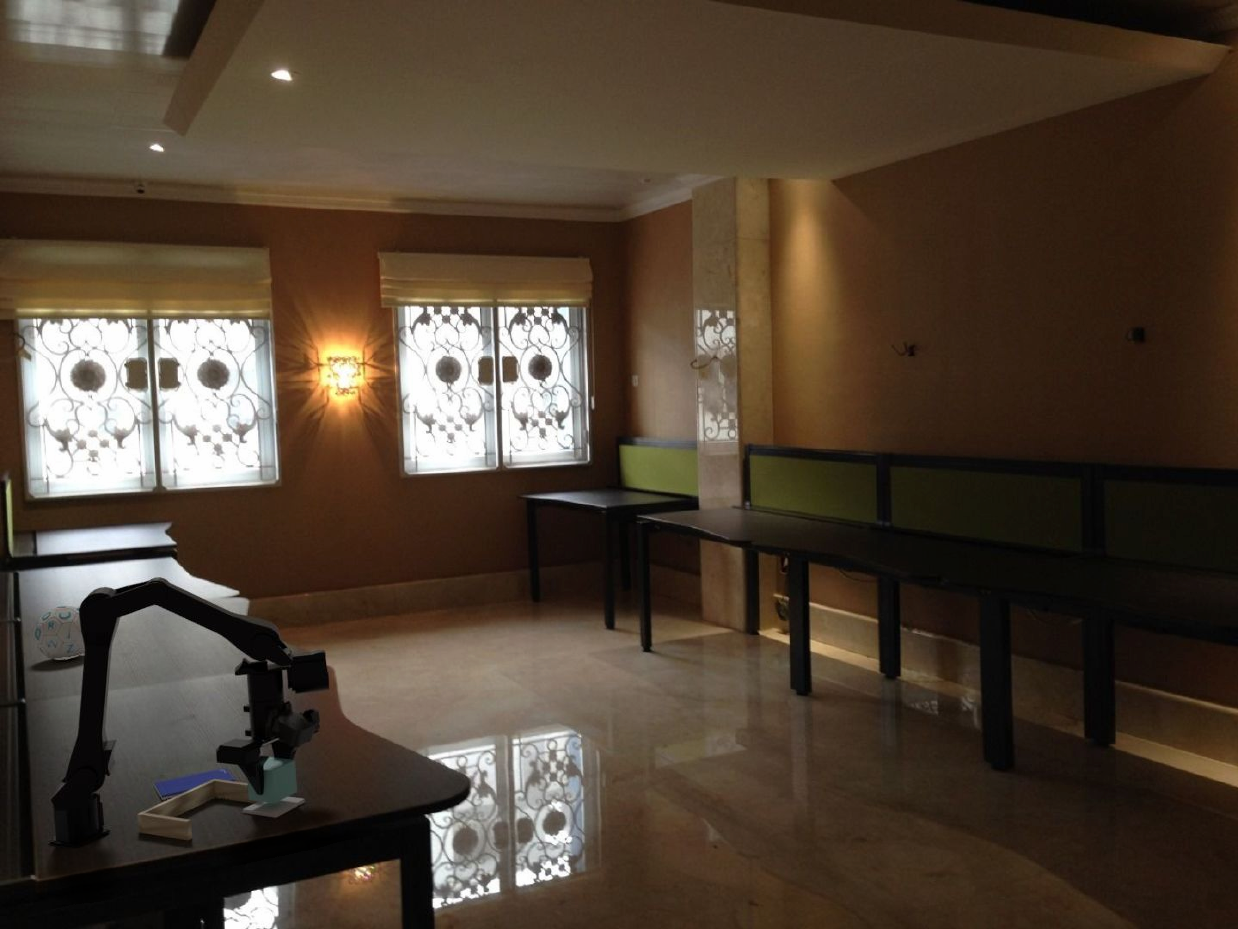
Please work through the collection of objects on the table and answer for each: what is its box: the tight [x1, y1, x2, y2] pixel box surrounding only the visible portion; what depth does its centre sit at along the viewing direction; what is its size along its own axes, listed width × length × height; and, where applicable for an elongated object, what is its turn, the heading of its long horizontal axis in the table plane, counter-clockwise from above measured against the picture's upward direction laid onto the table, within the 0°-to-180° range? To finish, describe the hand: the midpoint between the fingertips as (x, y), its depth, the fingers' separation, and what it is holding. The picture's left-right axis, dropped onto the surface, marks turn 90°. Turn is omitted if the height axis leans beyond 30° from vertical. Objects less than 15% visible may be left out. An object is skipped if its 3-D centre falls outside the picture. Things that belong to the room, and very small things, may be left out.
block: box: [246, 756, 298, 803], centre depth 183 cm, size 6×6×6 cm
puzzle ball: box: [33, 605, 85, 659], centre depth 304 cm, size 15×15×15 cm
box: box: [136, 779, 258, 841], centre depth 181 cm, size 17×11×3 cm, turn 156°
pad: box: [242, 796, 306, 819], centre depth 183 cm, size 7×7×1 cm
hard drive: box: [154, 767, 236, 801], centre depth 196 cm, size 2×8×12 cm
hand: (272, 788), depth 183 cm, fingers closed on block, 5 cm apart
